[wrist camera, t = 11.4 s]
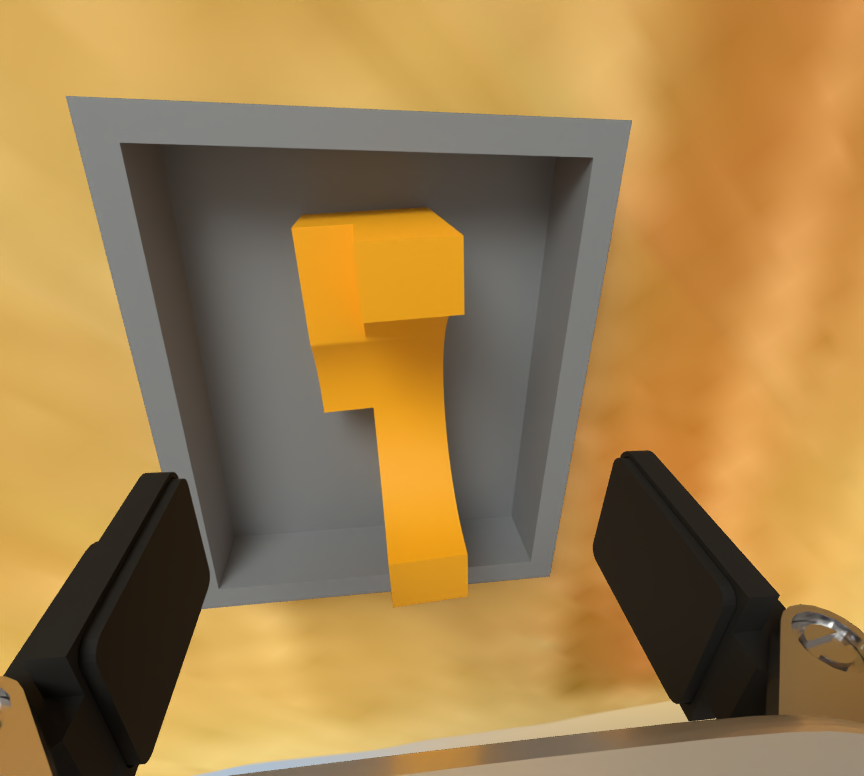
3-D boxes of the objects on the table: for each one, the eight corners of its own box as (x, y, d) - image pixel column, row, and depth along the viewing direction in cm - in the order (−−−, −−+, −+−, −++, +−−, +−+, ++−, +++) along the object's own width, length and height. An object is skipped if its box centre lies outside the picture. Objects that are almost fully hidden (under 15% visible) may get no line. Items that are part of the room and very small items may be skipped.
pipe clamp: (302, 214, 17) (274, 248, 11) (427, 206, 17) (463, 235, 12) (344, 494, 22) (340, 615, 16) (439, 482, 23) (468, 596, 17)
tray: (576, 126, 18) (632, 120, 14) (522, 516, 26) (549, 576, 22) (131, 108, 16) (65, 96, 12) (220, 539, 23) (196, 609, 20)
